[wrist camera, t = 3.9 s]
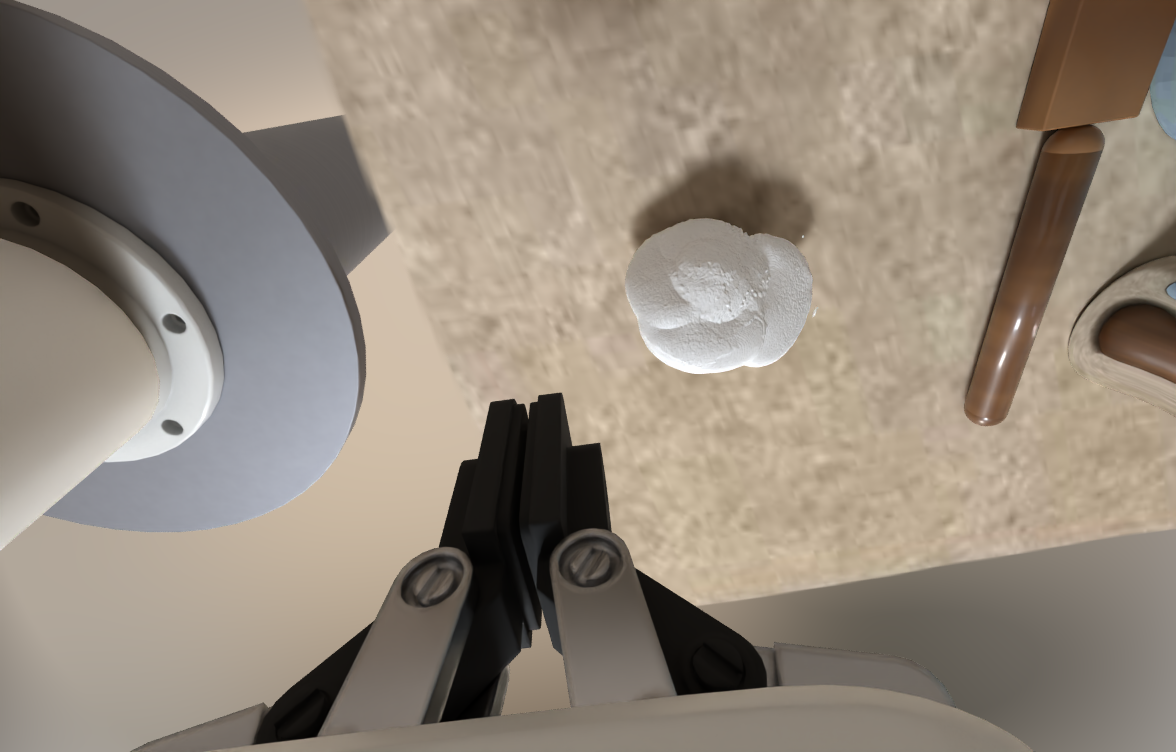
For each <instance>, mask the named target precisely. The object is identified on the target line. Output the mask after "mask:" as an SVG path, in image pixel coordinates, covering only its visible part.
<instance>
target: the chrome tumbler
mask: <svg viewBox="0 0 1176 752" xmlns="http://www.w3.org/2000/svg"><path fill="white" fill-rule="evenodd" d="M1068 356H1069V361H1070V364H1071V366H1072V368H1073V369H1074V370H1075V371H1076V373H1078V374H1079V375H1080V376H1081V377H1083V378H1084V379H1086V380H1088V381H1090V382H1092V383H1095V384H1097V385H1100V386H1103V387H1105V388H1108V389H1111V390H1114V391H1117V392H1120V393H1123V394H1125V395H1128V396H1131V397H1134V398H1137V399H1139V400H1141V401H1144V402H1146V403H1149V404H1151V405H1153V406H1155V407H1157V408H1159V409H1161V410H1163V411H1165V412H1167V413H1169V414H1171V415H1172V416H1174V417H1176V255H1173V256H1167V257H1163V258H1160V259H1156V260H1153V261H1151V262H1148V263H1146V264H1143V265H1141V266H1139V267H1137V268H1135V269H1133V270H1131V271H1130V272H1128V273H1126V274H1125V275H1123V276H1121V277H1120V278H1118V279H1117V280H1116V281H1114V282H1113V283H1112V284H1110V285H1109V286H1108V287H1107V288H1105V289H1104V290H1103V291H1102V292H1101V293H1100V294H1099V295H1098V296H1097V297H1096V298H1095V299H1094V300H1093V301H1092V302H1091V303H1090V304H1089V306H1088V307H1087V308H1086V309H1085V311H1084V312H1083V313H1082V315H1081V316H1080V318H1079V319H1078V321H1077V323H1076V325H1075V327H1074V329H1073V331H1072V334H1071V337H1070V341H1069V347H1068Z"/></svg>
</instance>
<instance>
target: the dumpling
mask: <svg viewBox="0 0 1176 752" xmlns="http://www.w3.org/2000/svg"><path fill="white" fill-rule="evenodd" d="M803 237H804V235H803V236H802V238H803ZM812 281H813V279H812V274H811V272H810V269H809V266H808V263H807V261H806V259H805V257H804V256H803V255H802V254H801V252H800V251H799V249H798V248H797V247H796V246H795V245H793V244H792V243H791V242H790V241H788V240H786V239H784V238H779V237H776V236H772V235H769V234H767V233H766V234H762V233H759V234H755V235H751V236H748V234H747V232H745V233H744V234H743V231H742V229H741V228H738V227H736V226H735V225H733V226H732V225H730V223H727V222H724V221H722V220H714V219H711V218H710V219H708V218H705V219H703V218H701V219H689V220H688V221H686V222H681V223H677V224H676V225H674V226H673V227H668V228H666V229H665V230H663V231H660V232H659V233H657V234H653V235H652V236H651V237H650V238H649V239H646V240H645V241H644V243H643V244H642V245H641V246H640V247H639V248H638V249H637V250H636V252H635V254H634V255H633V258H632V259H631V261H630V263H629V265H628V269H627V272H626V278H625V289H626V294H627V297H628V300H629V303H630V305H631V307H632V310H633V312H634V313H635V315H636V316H637V320H638V325H639V330H640V334H641V336H642V338H643V340H644V342H645V344H646V346H647V347H648V349H649V350H650V351H651V352H652V353H653V354H654V355H655V356H656V357H657V358H658V359H660V360H661V361H662V362H664V363H665V364H667V365H669V366H671V367H674V368H676V369H679V370H681V371H685V372H689V373H695V374H704V373H717V372H724V371H729V370H732V369H735V368H738V367H740V366H742V365H746V366H749V367H761V366H766V365H769V364H771V363H773V362H775V361H777V360H778V359H779V358H780V357H782V356H783V355H784V354H785V353H786V352H787V351H788V349H790V347H791V346H792V345H793V344H794V342H795V340H796V339H797V338H798V335H799V334H800V331H801V330H802V328H803V327H804V324H805V321H806V318H807V315H808V313H809V310H810V306H811V301H812ZM817 309H818V307H817V306H816V307H815V309H814V312H813V316H815V314H816V311H817ZM813 316H812V318H813Z"/></svg>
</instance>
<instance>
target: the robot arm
mask: <svg viewBox="0 0 1176 752" xmlns="http://www.w3.org/2000/svg"><path fill="white" fill-rule="evenodd" d="M223 381H224V368H223V355H222V351H221V348H220V344H219V341H218V338H217V334H216V331H215V329H214V327H213V325H212V323H211V321H210V319H209V317H208V315H207V313H206V311H205V309H204V307H203V305H202V304H201V303H200V301H199V300H198V299H197V297H196V296H195V295H194V293H193V292H192V290H191V289H190V288H189V286H188V285H187V284H186V282H185V281H184V280H183V278H182V277H181V276H180V275H179V274H178V273H177V272H176V271H175V270H174V269H173V268H172V267H171V266H170V265H169V264H168V263H167V262H166V261H165V260H164V259H163V258H162V257H161V256H160V255H159V254H158V253H157V252H156V251H154V250H153V249H152V248H151V247H149V246H148V245H147V244H146V243H144V242H143V241H142V240H140V239H139V238H138V237H137V236H135V235H134V234H133V233H132V232H130V231H129V230H128V229H126V228H125V227H123V226H121V225H120V224H118V223H116V222H115V221H113V220H111V219H110V218H108V217H106V216H105V215H103V214H101V213H100V212H98V211H96V210H95V209H93V208H91V207H89V206H87V205H84V204H82V203H80V202H78V201H75V200H73V199H71V198H69V197H66V196H64V195H62V194H60V193H57V192H55V191H52V190H49V189H45V188H42V187H38V186H35V185H31V184H28V183H25V182H21V181H18V180H13V179H5V178H0V550H1V549H3V548H4V547H5V546H6V545H7V544H8V543H10V542H11V541H12V540H13V539H14V538H16V537H17V536H18V535H19V534H20V533H21V532H22V531H24V530H25V529H26V528H27V527H28V526H29V525H31V524H32V523H33V522H34V521H35V520H36V519H38V518H39V517H40V516H41V515H42V514H43V513H45V512H46V511H47V510H48V509H49V508H50V507H52V506H53V505H54V504H55V503H56V502H57V501H59V500H60V499H61V498H62V497H63V496H64V495H66V494H67V493H68V492H69V491H70V490H71V489H73V488H74V487H75V486H76V485H77V484H78V483H80V482H81V481H82V480H83V479H84V478H85V477H87V476H88V475H89V474H90V473H91V472H92V471H94V470H95V469H96V468H97V467H98V466H99V465H101V464H102V463H103V462H121V461H135V460H139V459H144V458H148V457H152V456H156V455H159V454H162V453H164V452H166V451H168V450H170V449H173V448H175V447H177V446H179V445H180V444H181V443H182V442H184V441H185V440H186V439H188V438H189V437H190V436H191V435H193V434H194V433H195V432H196V431H197V430H198V429H199V428H200V427H201V426H202V424H203V423H204V422H205V421H206V420H207V419H208V418H209V417H210V416H211V414H212V412H213V411H214V409H215V407H216V405H217V403H218V401H219V399H220V396H221V391H222V386H223ZM542 611H543V614H544V618H545V621H546V625H547V628H548V631H549V634H550V637H551V641H552V645H553V648H554V649H556V650H557V651H558V652H559V653H560V654H561V655H563V660H564V665H565V673H566V679H567V685H568V692H569V698H570V705H571V708H564V709H555V710H546V711H538V712H529V713H520V714H511V715H502V716H501V712H502V708H503V704H504V699H505V695H506V691H507V686H508V682H509V674H510V667H509V663H510V662H511V661H512V660H513V659H514V658H515V657H516V656H517V655H518V654H519V653H520V652H521V649H522V648H530V647H531V643H532V630H537V629H540V628H541V617H542ZM130 752H1034V751H1033V750H1032V749H1031V748H1029V747H1028V746H1027V745H1026V744H1024V743H1023V742H1022V741H1020V740H1019V739H1017V738H1016V737H1014V736H1013V735H1011V734H1010V733H1008V732H1007V731H1005V730H1003V729H1001V728H999V727H997V726H995V725H993V724H991V723H989V722H987V721H985V720H983V719H981V718H978V717H976V716H974V715H971V714H969V713H966V712H964V711H961V710H959V709H957V708H956V706H955V704H954V701H953V700H952V698H951V696H950V694H949V693H948V691H947V689H946V688H945V686H944V685H943V684H942V683H941V682H940V681H939V680H938V679H937V678H936V677H935V676H934V675H933V674H932V673H931V672H930V671H929V670H928V669H926V668H924V667H923V666H921V665H919V664H917V663H916V662H914V661H912V660H909V659H906V658H902V657H898V656H894V655H886V654H877V653H868V652H859V651H850V650H841V649H832V648H822V647H814V646H813V647H812V646H804V645H795V644H786V643H777V642H774V648H768V647H759V646H753V645H752V644H751V643H749V642H748V641H747V640H746V639H745V638H743V637H742V636H741V635H739V634H738V633H736V632H735V631H733V630H732V629H730V628H729V627H727V626H725V625H724V624H722V623H721V622H719V621H717V620H716V619H714V618H713V617H711V616H710V615H708V614H707V613H705V612H703V611H702V610H700V609H699V608H697V607H696V606H694V605H692V604H691V603H689V602H688V601H686V600H685V599H683V598H682V597H680V596H678V595H677V594H675V593H674V592H672V591H671V590H669V589H667V588H666V587H664V586H663V585H661V584H660V583H658V582H656V581H655V580H653V579H652V578H650V577H649V576H647V575H645V574H644V573H642V572H641V571H639V570H638V569H636V568H635V567H634V564H633V561H632V558H631V555H630V552H629V550H628V548H627V546H626V544H625V542H624V541H623V540H622V539H621V538H620V537H619V536H617V535H616V534H614V533H612V531H611V522H610V512H609V503H608V495H607V487H606V479H605V472H604V465H603V458H602V452H601V446H600V443H594V444H586V445H579V446H572V442H571V437H570V431H569V426H568V421H567V415H566V410H565V405H564V399H563V395H562V393H554V394H546V395H539V396H538V402H532V403H530V410H529V420H528V415H527V411H526V407H525V405H524V404H517V403H516V401H515V399H509V400H502V401H494V402H491V403H490V406H489V411H488V415H487V420H486V424H485V429H484V433H483V438H482V442H481V447H480V452H479V456H478V459H472V460H465V461H463V462H462V463H461V466H460V468H459V473H458V476H457V480H456V484H455V487H454V491H453V495H452V499H451V503H450V506H449V510H448V514H447V518H446V521H445V525H444V529H443V533H442V537H441V540H440V544H439V548H434V549H432V550H429V551H426V552H424V553H421V554H420V555H418V556H417V557H415V558H413V559H412V560H411V561H410V562H409V563H407V565H406V566H404V567H403V568H402V570H401V571H400V572H399V574H398V575H397V577H396V579H395V580H394V582H393V584H392V586H391V588H390V590H389V593H388V595H387V596H386V598H385V600H384V602H383V604H382V607H381V609H380V611H379V613H378V615H377V617H376V619H375V620H374V621H373V622H372V623H371V624H369V625H368V626H367V627H366V628H365V629H363V630H362V631H361V632H360V633H358V634H357V635H356V636H355V637H353V638H352V639H351V640H350V641H348V642H347V643H346V644H345V645H343V646H342V647H341V648H340V649H338V650H337V651H336V652H335V653H334V654H332V655H331V656H330V657H328V658H327V659H326V660H325V661H324V662H322V663H321V664H320V665H319V666H317V667H316V668H315V669H314V670H312V671H311V672H310V673H309V674H307V675H306V676H305V677H304V678H302V679H301V680H300V681H299V682H297V683H296V684H295V685H294V686H292V687H291V688H290V689H289V690H288V691H287V692H286V693H285V694H284V695H282V697H280V698H279V699H278V700H277V701H276V702H275V704H274V705H273V706H272V707H269V708H268V707H267V706H266V705H265V704H264V703H261V704H258V705H255V706H252V707H249V708H246V709H244V710H241V711H238V712H235V713H232V714H229V715H227V716H224V717H220V718H218V719H215V720H212V721H209V722H206V723H203V724H200V725H197V726H194V727H191V728H189V729H186V730H183V731H180V732H177V733H174V734H171V735H168V736H165V737H162V738H160V739H157V740H154V741H151V742H148V743H146V744H144V745H142V746H140V747H138V748H136V749H134V750H132V751H130Z"/></svg>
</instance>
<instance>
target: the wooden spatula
mask: <svg viewBox="0 0 1176 752" xmlns="http://www.w3.org/2000/svg"><path fill="white" fill-rule="evenodd" d="M1175 19H1176V0H1050V4H1049V8H1048V11H1047V15H1046V19H1045V22H1044V26H1043V30H1042V33H1041V37H1040V41H1039V44H1038V48H1037V52H1036V55H1035V59H1034V63H1033V66H1032V70H1031V74H1030V77H1029V81H1028V85H1027V88H1026V92H1025V96H1024V99H1023V103H1022V107H1021V110H1020V114H1019V118H1018V121H1017V125H1016V128H1018V129H1027V130H1036V131H1048V130H1055V129H1060V130H1058V131H1056V132H1055V133H1054V134H1053V135H1051V136H1050V137H1049V138H1048V140H1047V141H1046V142H1045V144H1044V146H1043V148H1042V151H1041V154H1040V157H1039V160H1038V164H1037V167H1036V170H1035V174H1034V177H1033V180H1032V184H1031V187H1030V190H1029V193H1028V197H1027V200H1026V203H1025V207H1024V210H1023V213H1022V217H1021V220H1020V223H1019V226H1018V230H1017V233H1016V236H1015V240H1014V243H1013V246H1012V250H1011V253H1010V256H1009V259H1008V263H1007V266H1006V269H1005V273H1004V276H1003V279H1002V283H1001V286H1000V289H999V292H998V296H997V299H996V302H995V306H994V309H993V312H992V316H991V319H990V322H989V325H988V329H987V332H986V335H985V339H984V342H983V345H982V349H981V352H980V355H979V358H978V362H977V365H976V368H975V372H974V375H973V378H972V381H971V385H970V388H969V391H968V395H967V398H966V401H965V405H964V411H965V414H966V416H967V417H968V418H969V420H971V421H972V422H973V423H975V424H978V425H981V426H993V425H997V424H999V423H1001V422H1002V421H1003V420H1004V419H1005V418H1006V416H1007V415H1008V412H1009V409H1010V407H1011V404H1012V401H1013V398H1014V395H1015V393H1016V390H1017V387H1018V384H1019V382H1020V379H1021V376H1022V373H1023V370H1024V368H1025V365H1026V362H1027V359H1028V357H1029V354H1030V351H1031V348H1032V346H1033V343H1034V340H1035V337H1036V334H1037V332H1038V329H1039V326H1040V323H1041V321H1042V318H1043V315H1044V312H1045V309H1046V307H1047V304H1048V301H1049V298H1050V296H1051V293H1052V290H1053V287H1054V284H1055V282H1056V279H1057V276H1058V273H1059V271H1060V268H1061V265H1062V262H1063V260H1064V257H1065V254H1066V251H1067V248H1068V246H1069V243H1070V240H1071V237H1072V235H1073V232H1074V229H1075V226H1076V223H1077V221H1078V218H1079V215H1080V212H1081V210H1082V207H1083V204H1084V201H1085V198H1086V196H1087V193H1088V190H1089V187H1090V185H1091V182H1092V179H1093V176H1094V174H1095V171H1096V168H1097V165H1098V162H1099V160H1100V157H1101V154H1102V151H1103V149H1104V144H1105V139H1104V136H1103V133H1102V132H1101V130H1100V129H1098V128H1097V127H1095V126H1093V125H1091V124H1094V123H1101V122H1108V121H1114V120H1121V119H1128V118H1134V117H1137V116H1138V115H1139V114H1140V111H1141V108H1142V106H1143V103H1144V101H1145V98H1146V95H1147V93H1148V90H1149V87H1150V85H1151V82H1152V80H1153V77H1154V74H1155V72H1156V69H1157V67H1158V64H1159V61H1160V59H1161V56H1162V53H1163V51H1164V48H1165V46H1166V43H1167V40H1168V38H1169V35H1170V32H1171V30H1172V27H1173V25H1174V22H1175Z"/></svg>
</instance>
